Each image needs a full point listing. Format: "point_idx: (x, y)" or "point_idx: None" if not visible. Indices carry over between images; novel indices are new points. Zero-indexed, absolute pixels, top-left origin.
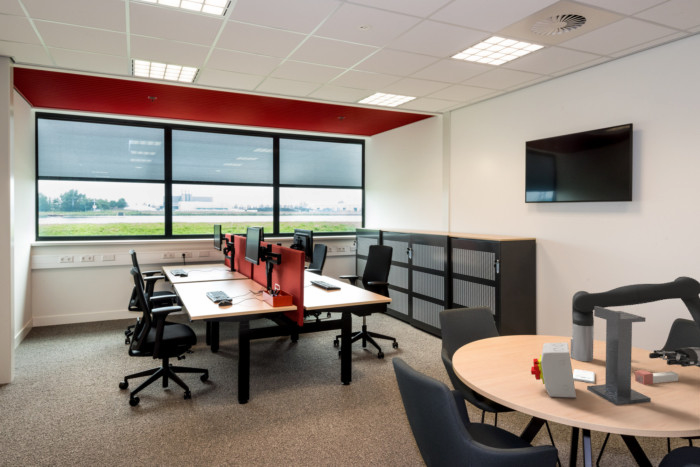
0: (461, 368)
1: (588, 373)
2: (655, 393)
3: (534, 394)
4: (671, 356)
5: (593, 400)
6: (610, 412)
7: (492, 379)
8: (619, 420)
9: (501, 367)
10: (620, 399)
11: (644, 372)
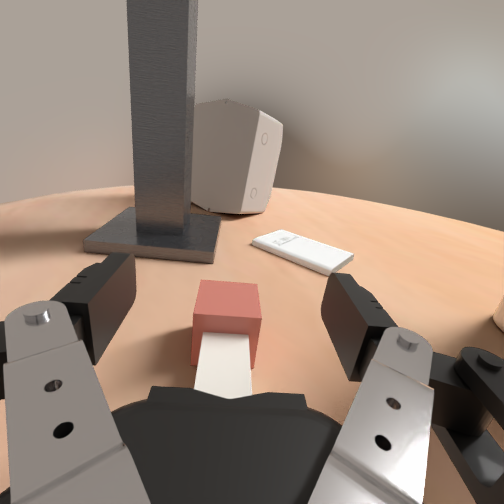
0: (338, 196)
1: (316, 255)
2: None
3: None
4: (218, 405)
5: None
6: (117, 203)
7: (292, 195)
8: (88, 198)
9: (352, 212)
10: (131, 212)
11: (225, 296)
